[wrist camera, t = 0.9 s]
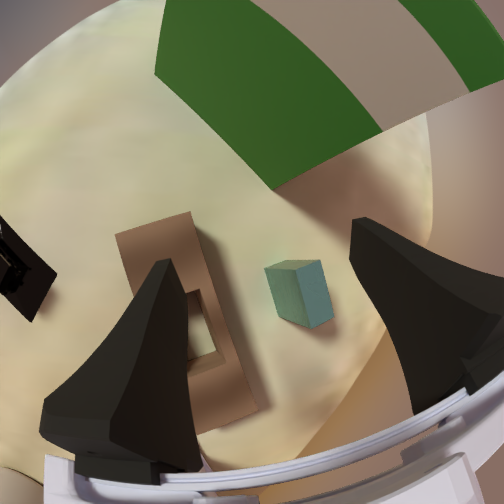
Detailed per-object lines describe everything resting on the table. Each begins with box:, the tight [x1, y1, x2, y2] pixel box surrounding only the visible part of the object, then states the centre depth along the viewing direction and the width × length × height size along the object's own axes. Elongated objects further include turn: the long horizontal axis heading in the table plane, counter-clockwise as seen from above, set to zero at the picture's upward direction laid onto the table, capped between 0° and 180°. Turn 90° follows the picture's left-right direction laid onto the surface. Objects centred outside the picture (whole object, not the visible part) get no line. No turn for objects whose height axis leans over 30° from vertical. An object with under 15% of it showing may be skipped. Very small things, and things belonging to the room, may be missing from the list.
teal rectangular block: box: [264, 260, 334, 329], centre depth 24 cm, size 5×2×6 cm, turn 18°
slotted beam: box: [115, 212, 258, 435], centre depth 22 cm, size 18×6×4 cm, turn 18°
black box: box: [0, 216, 57, 322], centre depth 16 cm, size 12×7×5 cm, turn 53°
